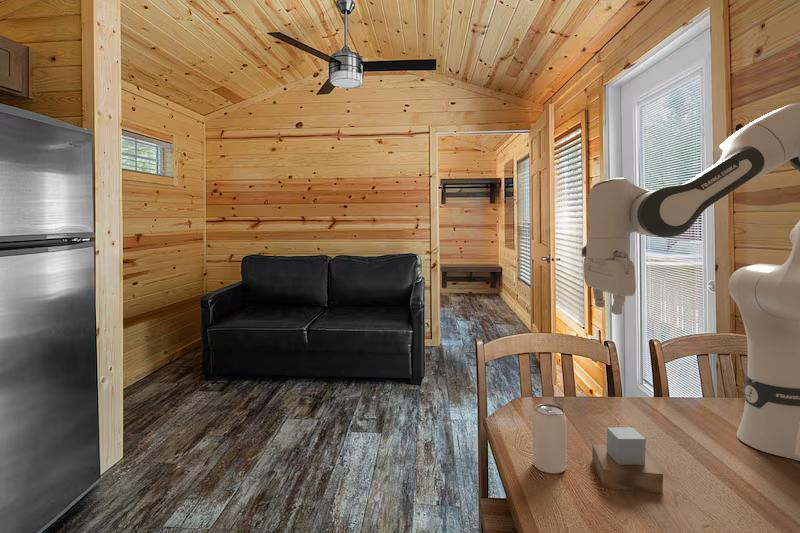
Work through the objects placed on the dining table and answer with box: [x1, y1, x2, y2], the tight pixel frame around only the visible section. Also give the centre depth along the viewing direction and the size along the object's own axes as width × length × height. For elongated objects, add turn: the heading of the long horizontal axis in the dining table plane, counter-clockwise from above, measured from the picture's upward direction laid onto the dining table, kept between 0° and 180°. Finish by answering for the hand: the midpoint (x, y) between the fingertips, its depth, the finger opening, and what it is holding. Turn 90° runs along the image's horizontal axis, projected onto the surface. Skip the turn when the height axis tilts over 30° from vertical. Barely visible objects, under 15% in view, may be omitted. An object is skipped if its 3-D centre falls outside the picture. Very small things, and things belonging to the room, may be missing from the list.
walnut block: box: [591, 443, 664, 494], centre depth 87 cm, size 10×10×4 cm
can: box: [532, 403, 568, 475], centre depth 91 cm, size 6×6×12 cm
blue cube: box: [606, 426, 647, 465], centre depth 87 cm, size 5×5×5 cm
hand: (607, 310), depth 104 cm, fingers open, 8 cm apart
